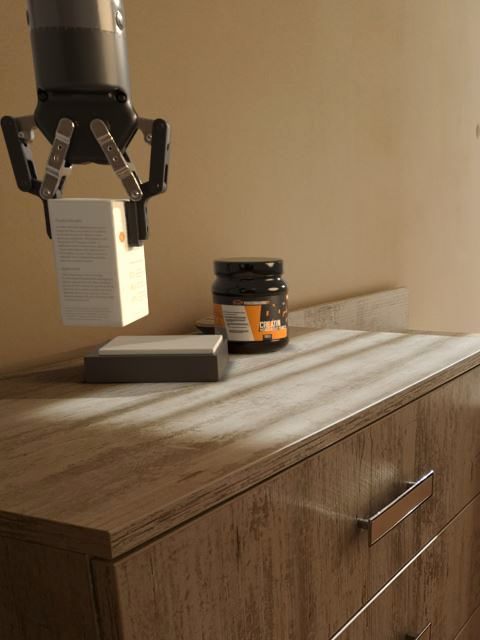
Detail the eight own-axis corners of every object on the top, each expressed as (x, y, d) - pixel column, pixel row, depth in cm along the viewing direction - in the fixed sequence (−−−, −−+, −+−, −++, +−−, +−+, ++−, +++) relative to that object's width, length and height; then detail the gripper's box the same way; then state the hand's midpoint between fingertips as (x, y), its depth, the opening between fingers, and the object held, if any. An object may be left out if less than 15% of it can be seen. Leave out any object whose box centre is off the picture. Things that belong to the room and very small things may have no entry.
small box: (92, 314, 79) (80, 197, 75) (150, 315, 79) (141, 198, 75) (59, 326, 71) (44, 197, 68) (123, 327, 71) (111, 198, 68)
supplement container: (230, 357, 109) (225, 263, 105) (204, 345, 117) (198, 258, 113) (302, 350, 114) (300, 260, 110) (272, 339, 122) (269, 255, 118)
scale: (84, 383, 94) (80, 351, 92) (108, 363, 105) (105, 334, 104) (218, 381, 95) (216, 350, 94) (228, 361, 106) (226, 333, 105)
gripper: (175, 41, 71) (187, 244, 77) (4, 36, 70) (30, 243, 76) (160, 24, 64) (175, 249, 70) (-31, 19, 63) (1, 248, 69)
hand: (99, 245), depth 73 cm, fingers closed on small box, 6 cm apart
